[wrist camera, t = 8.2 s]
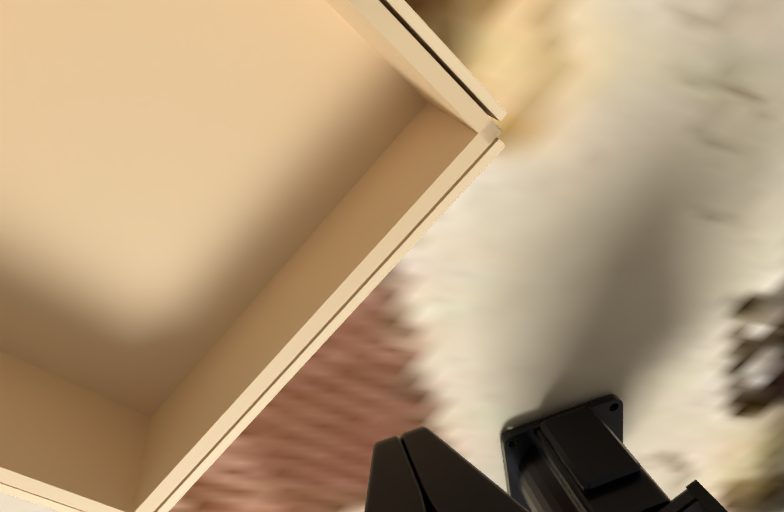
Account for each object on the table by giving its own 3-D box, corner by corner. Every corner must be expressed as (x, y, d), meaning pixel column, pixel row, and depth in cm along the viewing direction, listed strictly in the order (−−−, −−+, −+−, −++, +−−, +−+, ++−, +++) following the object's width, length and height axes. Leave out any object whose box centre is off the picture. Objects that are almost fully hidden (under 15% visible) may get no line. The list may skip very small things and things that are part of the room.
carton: (459, 97, 20) (523, 129, 16) (156, 438, 23) (139, 544, 19) (107, -270, 14) (51, -386, 10) (-249, 261, 17) (-417, 358, 12)
